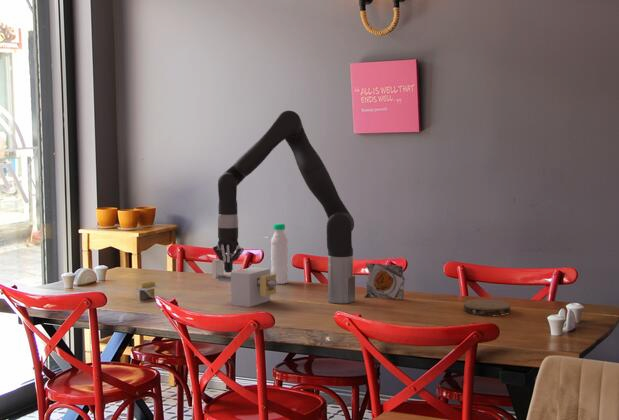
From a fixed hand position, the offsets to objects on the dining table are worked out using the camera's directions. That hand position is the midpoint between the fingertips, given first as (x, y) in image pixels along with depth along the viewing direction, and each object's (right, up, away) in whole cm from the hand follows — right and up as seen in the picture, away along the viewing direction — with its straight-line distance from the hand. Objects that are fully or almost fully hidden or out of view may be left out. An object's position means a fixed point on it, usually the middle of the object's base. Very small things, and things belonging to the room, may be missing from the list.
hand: (228, 272), depth 305 cm
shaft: (+6, -4, -3) cm, 8 cm away
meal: (+59, -11, +4) cm, 60 cm away
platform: (-31, -11, +4) cm, 33 cm away
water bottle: (+18, -8, +37) cm, 42 cm away
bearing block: (+9, -11, -4) cm, 15 cm away
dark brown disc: (+93, -13, -20) cm, 96 cm away
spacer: (+15, -8, -8) cm, 19 cm away
